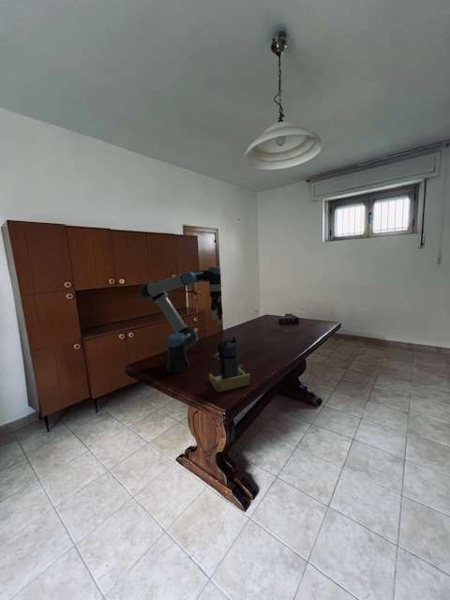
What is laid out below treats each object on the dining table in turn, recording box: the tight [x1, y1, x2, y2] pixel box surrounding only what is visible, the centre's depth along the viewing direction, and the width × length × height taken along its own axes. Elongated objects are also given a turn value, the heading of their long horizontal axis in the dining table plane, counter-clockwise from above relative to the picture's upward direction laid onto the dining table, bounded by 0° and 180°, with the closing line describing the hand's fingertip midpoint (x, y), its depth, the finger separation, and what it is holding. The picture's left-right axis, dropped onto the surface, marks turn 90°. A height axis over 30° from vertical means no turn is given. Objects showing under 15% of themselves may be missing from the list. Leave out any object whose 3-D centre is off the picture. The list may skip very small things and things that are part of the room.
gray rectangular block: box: [238, 364, 245, 372], centre depth 161 cm, size 6×4×3 cm, turn 115°
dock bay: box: [208, 368, 251, 393], centre depth 146 cm, size 20×16×6 cm
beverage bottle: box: [217, 336, 239, 380], centre depth 144 cm, size 10×13×25 cm
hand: (216, 322), depth 166 cm, fingers open, 13 cm apart
